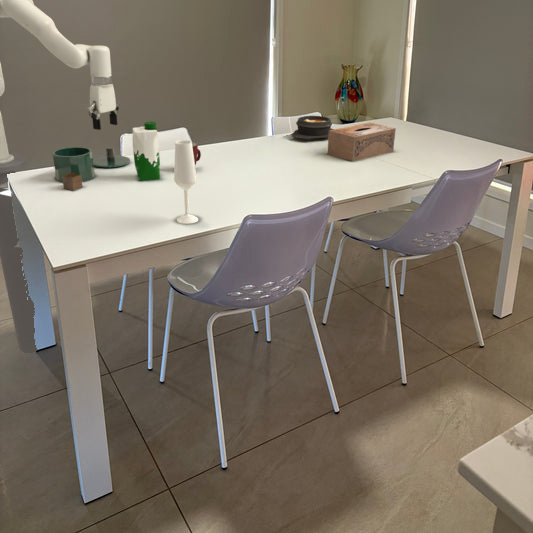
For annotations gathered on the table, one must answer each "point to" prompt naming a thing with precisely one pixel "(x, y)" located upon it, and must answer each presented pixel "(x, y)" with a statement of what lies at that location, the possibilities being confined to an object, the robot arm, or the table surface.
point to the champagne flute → (185, 175)
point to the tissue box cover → (361, 141)
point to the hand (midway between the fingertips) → (105, 126)
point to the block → (72, 181)
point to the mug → (196, 152)
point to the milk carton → (146, 152)
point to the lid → (111, 159)
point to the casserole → (312, 127)
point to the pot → (74, 162)
